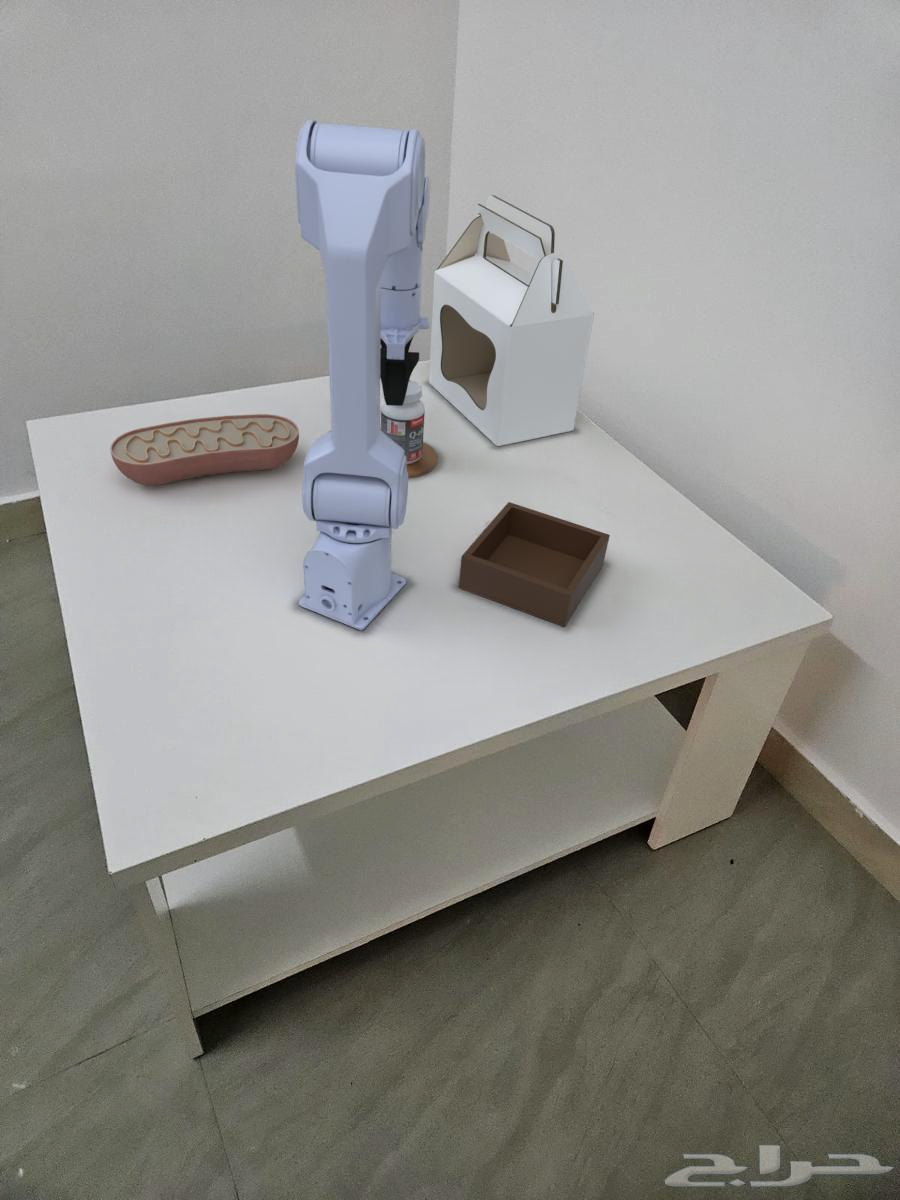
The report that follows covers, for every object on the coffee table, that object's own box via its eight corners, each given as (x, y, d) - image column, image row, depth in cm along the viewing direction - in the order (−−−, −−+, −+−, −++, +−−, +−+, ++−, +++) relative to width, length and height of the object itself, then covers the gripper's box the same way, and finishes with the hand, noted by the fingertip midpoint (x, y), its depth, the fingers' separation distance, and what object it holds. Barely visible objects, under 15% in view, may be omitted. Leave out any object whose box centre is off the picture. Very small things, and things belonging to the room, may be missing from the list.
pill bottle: (416, 469, 108) (419, 400, 102) (375, 462, 109) (375, 393, 102) (426, 448, 112) (430, 380, 106) (386, 442, 113) (387, 374, 107)
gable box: (427, 382, 129) (436, 190, 111) (499, 370, 134) (519, 185, 117) (497, 448, 115) (521, 239, 97) (575, 432, 120) (611, 230, 102)
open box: (564, 627, 86) (571, 595, 83) (458, 587, 90) (461, 556, 87) (603, 565, 95) (610, 534, 92) (504, 532, 99) (508, 501, 96)
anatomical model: (121, 504, 98) (113, 468, 95) (114, 463, 105) (106, 428, 102) (308, 477, 106) (306, 443, 102) (290, 440, 113) (288, 407, 109)
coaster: (415, 486, 106) (415, 482, 105) (349, 464, 109) (349, 460, 109) (450, 453, 113) (450, 450, 112) (387, 433, 116) (387, 430, 116)
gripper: (433, 306, 90) (427, 418, 99) (429, 263, 101) (424, 367, 110) (368, 303, 90) (368, 416, 98) (372, 260, 101) (372, 365, 109)
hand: (394, 390), depth 104 cm, fingers open, 7 cm apart
